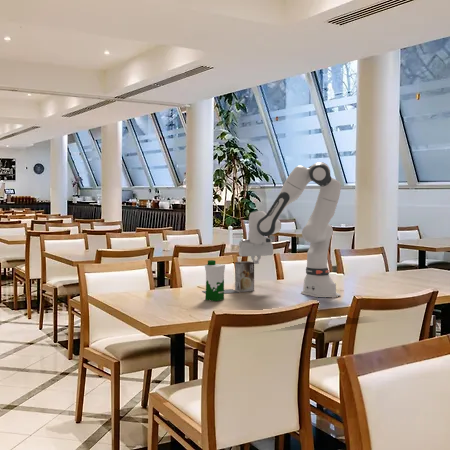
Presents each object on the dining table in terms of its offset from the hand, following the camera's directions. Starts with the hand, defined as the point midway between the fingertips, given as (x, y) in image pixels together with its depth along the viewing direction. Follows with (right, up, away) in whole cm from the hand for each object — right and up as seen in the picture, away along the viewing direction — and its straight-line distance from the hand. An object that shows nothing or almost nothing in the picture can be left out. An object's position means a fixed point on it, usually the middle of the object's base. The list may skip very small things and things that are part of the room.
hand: (255, 263), depth 328 cm
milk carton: (-23, -17, -29) cm, 40 cm away
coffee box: (-6, -15, -2) cm, 17 cm away
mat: (-20, -15, -7) cm, 26 cm away
